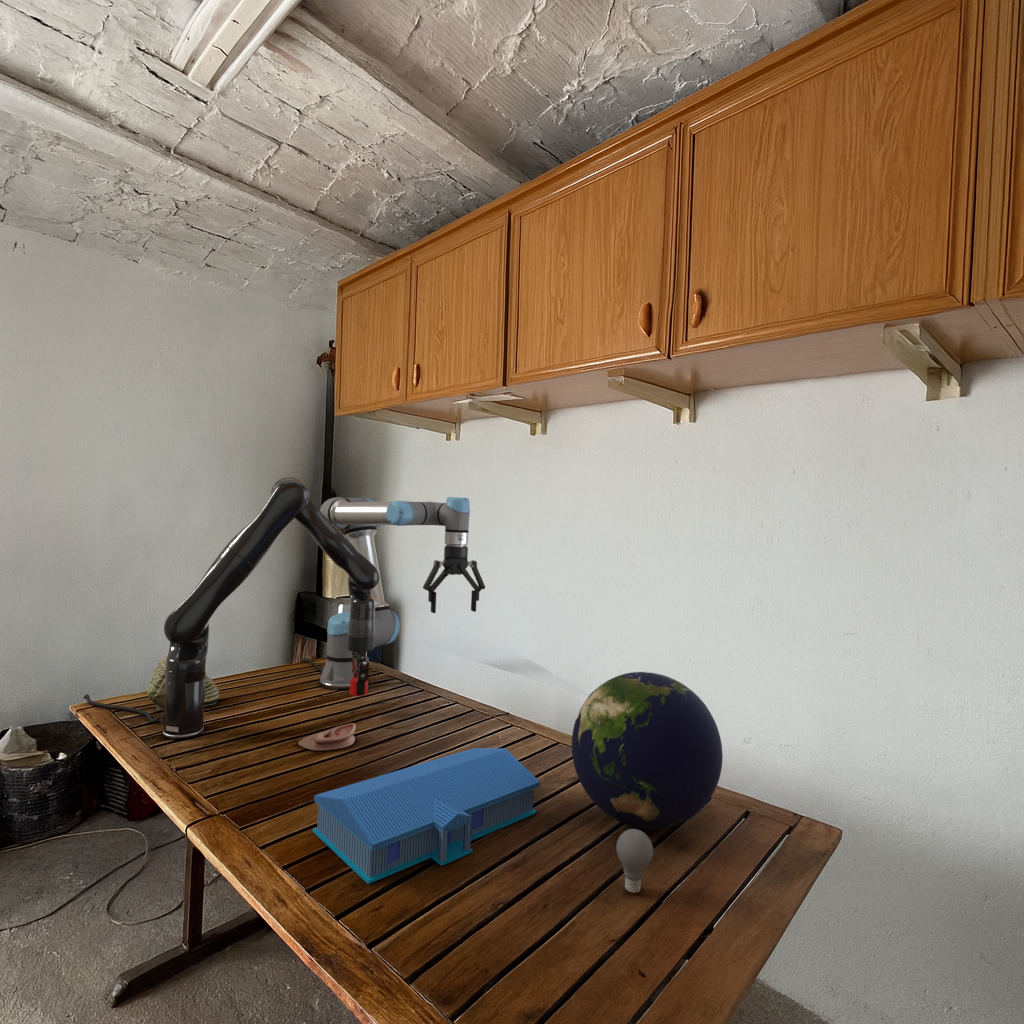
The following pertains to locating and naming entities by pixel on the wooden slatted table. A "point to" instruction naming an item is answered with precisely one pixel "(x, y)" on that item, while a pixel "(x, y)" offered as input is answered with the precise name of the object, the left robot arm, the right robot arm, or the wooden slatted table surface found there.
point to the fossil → (158, 687)
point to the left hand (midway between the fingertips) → (358, 691)
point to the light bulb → (634, 857)
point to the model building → (424, 811)
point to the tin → (354, 687)
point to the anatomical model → (330, 738)
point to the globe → (647, 750)
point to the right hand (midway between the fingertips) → (453, 611)
